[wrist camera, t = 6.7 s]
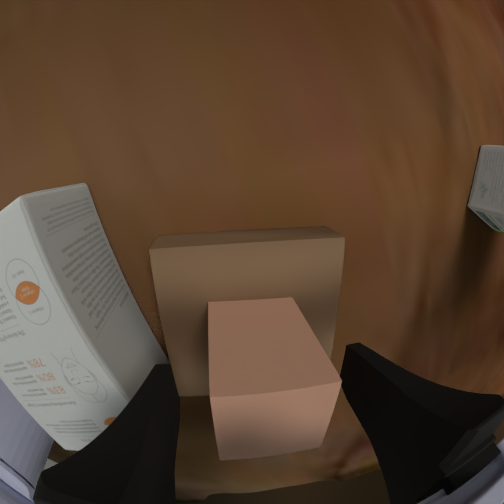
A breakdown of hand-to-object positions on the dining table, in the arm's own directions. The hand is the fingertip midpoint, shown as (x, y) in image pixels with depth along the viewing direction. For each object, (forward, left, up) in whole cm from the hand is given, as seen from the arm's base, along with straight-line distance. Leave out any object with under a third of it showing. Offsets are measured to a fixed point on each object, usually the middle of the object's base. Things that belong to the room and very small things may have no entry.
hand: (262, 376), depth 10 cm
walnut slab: (0, 0, -6) cm, 6 cm away
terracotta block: (0, 0, -3) cm, 3 cm away
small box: (0, +14, -3) cm, 14 cm away
